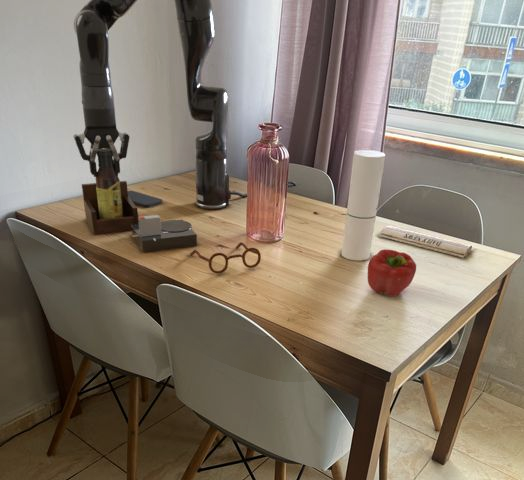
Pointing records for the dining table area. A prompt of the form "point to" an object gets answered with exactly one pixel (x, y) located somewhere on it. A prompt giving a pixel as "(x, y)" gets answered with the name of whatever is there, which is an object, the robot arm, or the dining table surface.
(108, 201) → the sauce bottle
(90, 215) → the spice rack
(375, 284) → the vegetable
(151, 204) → the phone
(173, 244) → the hob
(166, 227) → the burner ring
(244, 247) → the glasses
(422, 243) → the newspaper
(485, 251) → the dining table surface
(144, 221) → the knob
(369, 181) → the cylindrical container
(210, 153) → the robot arm
